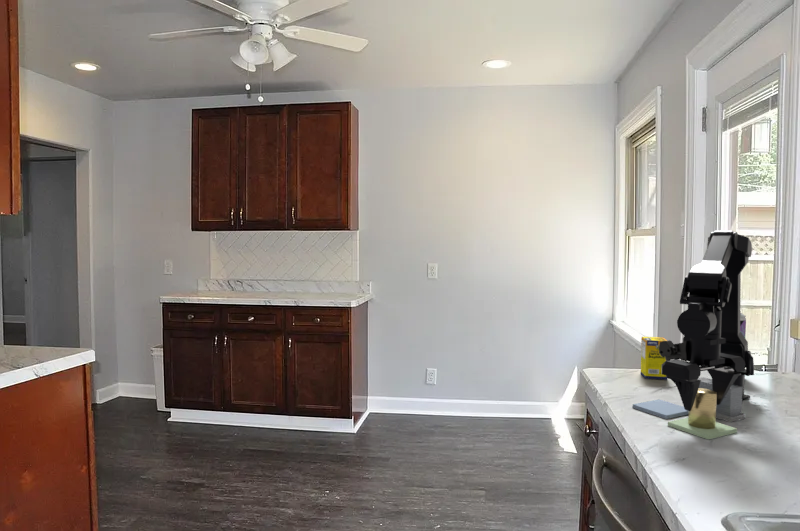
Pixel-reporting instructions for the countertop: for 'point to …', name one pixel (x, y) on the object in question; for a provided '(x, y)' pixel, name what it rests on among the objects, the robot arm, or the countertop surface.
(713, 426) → the gold metal cylinder
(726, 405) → the grey block with base
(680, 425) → the sage mat
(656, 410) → the slate mat
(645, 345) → the supplement box
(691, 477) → the countertop surface
